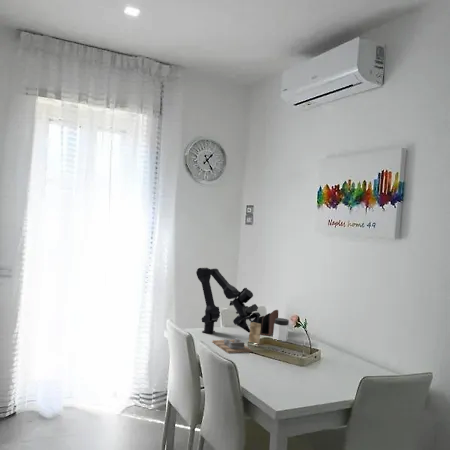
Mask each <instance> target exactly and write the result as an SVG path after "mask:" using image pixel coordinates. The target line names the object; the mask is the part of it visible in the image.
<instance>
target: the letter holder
mask: <svg viewBox="0 0 450 450" xmlns="http://www.w3.org/2000/svg"><path fill="white" fill-rule="evenodd" d="M276 318H279V309H275V310H273V311H272V312H270V313H267V314H265V315H260V318H259V320H258V321H259V323H260V324H261V330H260V336H265V337H270V336H271V335H272V334H273V332H274V324H275V319H276Z"/></svg>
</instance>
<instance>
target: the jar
mask: <svg viewBox="0 0 450 450" xmlns="http://www.w3.org/2000/svg"><path fill="white" fill-rule="evenodd" d="M289 323H290V320H289V319H287V318H282V317H278V318H276V319H275V324H274V332H273V333H272V334H273V335H272V340H274V339H277V340H282V341H281V342H287V341H288V337H289V327H290V324H289ZM277 340H276V341H277Z"/></svg>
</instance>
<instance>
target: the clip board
mask: <svg viewBox="0 0 450 450" xmlns="http://www.w3.org/2000/svg"><path fill="white" fill-rule="evenodd" d="M211 341H212V343H213V345H216V347H219V348H220V349H221V350H223V351H224V352H225V353H227V354H236V353H238V354H240V353H252V352H253V349H252V348H250V347H248V346H247V345H245V342H244V341H243V340H240V339H239V338H237V337H235V338H234V339H228V338H224V339H217V340H216V339H215V340H214V339H212V340H211ZM249 348H250V349H249Z"/></svg>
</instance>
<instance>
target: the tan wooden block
mask: <svg viewBox="0 0 450 450" xmlns="http://www.w3.org/2000/svg"><path fill="white" fill-rule="evenodd" d="M249 329H250V333H249V337H248V343H249V342H255V343H258V344H259V345H260V341H261V340H260V339H261V335H260V330H261V324H260V323H256V322H251V321H250V325H249Z"/></svg>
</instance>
